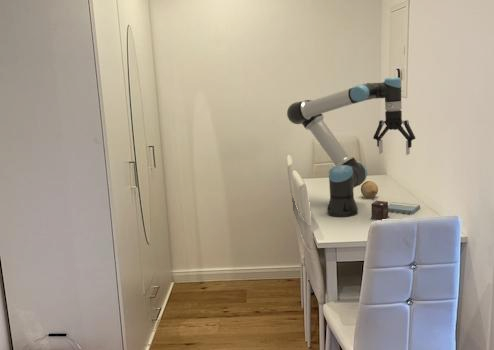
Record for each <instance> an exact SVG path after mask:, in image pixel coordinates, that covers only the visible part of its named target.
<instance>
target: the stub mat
mask: <svg viewBox="0 0 494 350" xmlns="http://www.w3.org/2000/svg"><path fill="white" fill-rule="evenodd" d="M387 218H388V219H389V218H390V215H388V217H386V218H385V219H387ZM388 219H387V220H388ZM370 220H376V221H382V219H374V218H372V217H370Z"/></svg>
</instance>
